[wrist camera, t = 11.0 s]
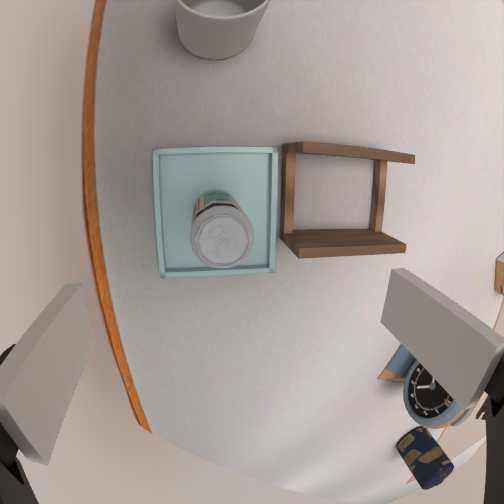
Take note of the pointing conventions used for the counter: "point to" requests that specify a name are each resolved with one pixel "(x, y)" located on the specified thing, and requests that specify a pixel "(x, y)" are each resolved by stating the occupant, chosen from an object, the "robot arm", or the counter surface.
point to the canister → (425, 458)
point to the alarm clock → (423, 392)
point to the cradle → (339, 239)
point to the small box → (499, 275)
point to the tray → (207, 179)
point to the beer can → (220, 230)
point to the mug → (217, 25)
